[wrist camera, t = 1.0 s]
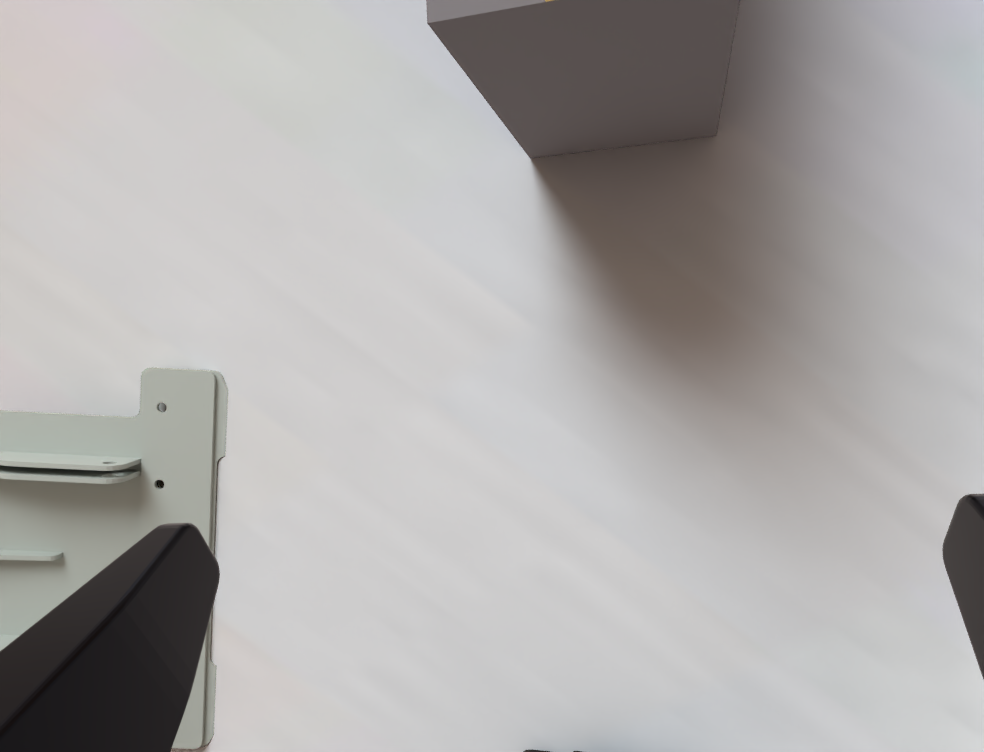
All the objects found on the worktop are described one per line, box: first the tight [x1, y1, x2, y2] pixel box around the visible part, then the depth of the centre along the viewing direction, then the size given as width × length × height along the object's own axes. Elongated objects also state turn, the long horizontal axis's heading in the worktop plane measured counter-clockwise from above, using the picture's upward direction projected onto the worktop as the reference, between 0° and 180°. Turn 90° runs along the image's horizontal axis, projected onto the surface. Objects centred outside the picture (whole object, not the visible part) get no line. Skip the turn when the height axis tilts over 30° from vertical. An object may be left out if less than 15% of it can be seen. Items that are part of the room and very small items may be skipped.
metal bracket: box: [0, 368, 228, 749], centre depth 28 cm, size 14×6×15 cm
